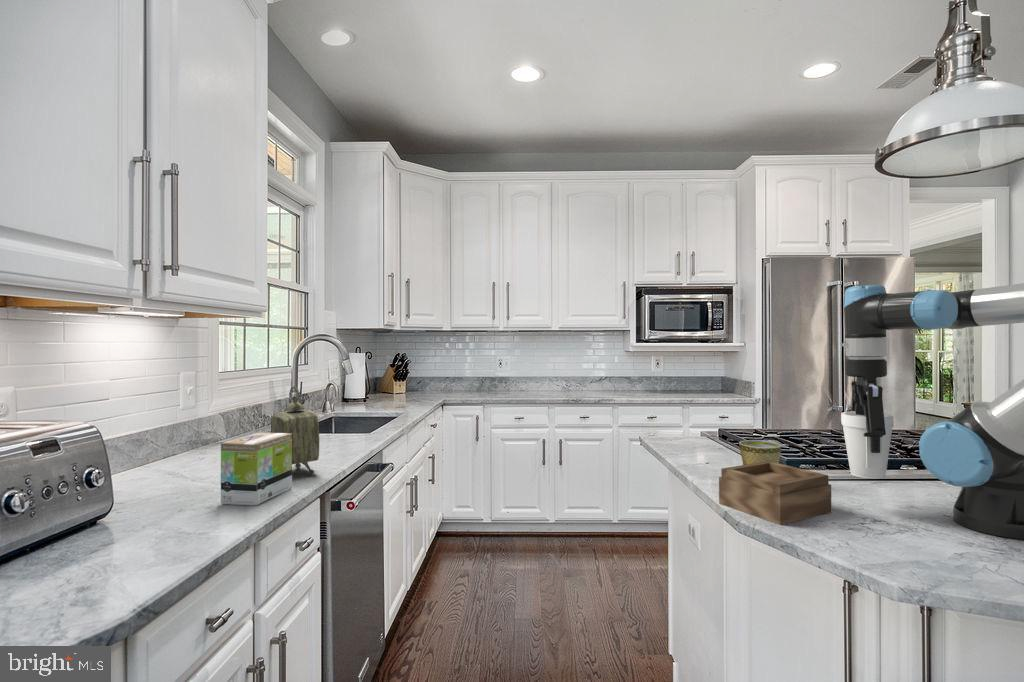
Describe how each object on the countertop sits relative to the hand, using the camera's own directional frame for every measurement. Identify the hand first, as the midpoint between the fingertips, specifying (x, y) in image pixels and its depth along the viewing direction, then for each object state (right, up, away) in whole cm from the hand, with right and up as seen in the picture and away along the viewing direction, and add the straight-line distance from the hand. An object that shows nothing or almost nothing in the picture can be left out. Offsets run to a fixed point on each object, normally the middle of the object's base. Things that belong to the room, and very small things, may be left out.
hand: (867, 462), depth 120 cm
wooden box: (-18, -11, +4) cm, 22 cm away
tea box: (-139, -13, +18) cm, 141 cm away
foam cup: (0, -3, 0) cm, 3 cm away
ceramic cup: (-11, -11, +25) cm, 30 cm away
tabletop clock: (-138, -12, +40) cm, 144 cm away
